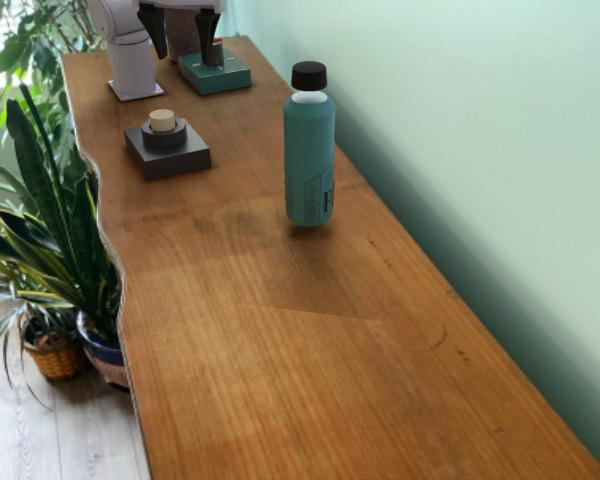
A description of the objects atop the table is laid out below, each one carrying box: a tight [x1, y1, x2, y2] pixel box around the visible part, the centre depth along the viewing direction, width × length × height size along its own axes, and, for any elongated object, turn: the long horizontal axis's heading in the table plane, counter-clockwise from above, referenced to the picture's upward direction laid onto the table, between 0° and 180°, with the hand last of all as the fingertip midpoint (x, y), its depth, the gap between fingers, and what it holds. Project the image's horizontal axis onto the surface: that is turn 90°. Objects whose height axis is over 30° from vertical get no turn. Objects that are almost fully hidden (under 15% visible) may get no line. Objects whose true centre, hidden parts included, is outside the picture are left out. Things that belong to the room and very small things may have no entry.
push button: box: [148, 108, 176, 132], centre depth 93 cm, size 4×4×2 cm
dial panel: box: [178, 48, 252, 96], centre depth 118 cm, size 12×10×3 cm
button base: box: [122, 116, 213, 182], centre depth 96 cm, size 12×10×5 cm
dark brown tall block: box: [164, 7, 201, 65], centre depth 120 cm, size 8×7×20 cm
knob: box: [205, 36, 224, 66], centre depth 116 cm, size 4×4×4 cm
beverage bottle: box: [282, 60, 337, 227], centre depth 77 cm, size 6×7×20 cm
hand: (185, 59), depth 101 cm, fingers open, 7 cm apart
